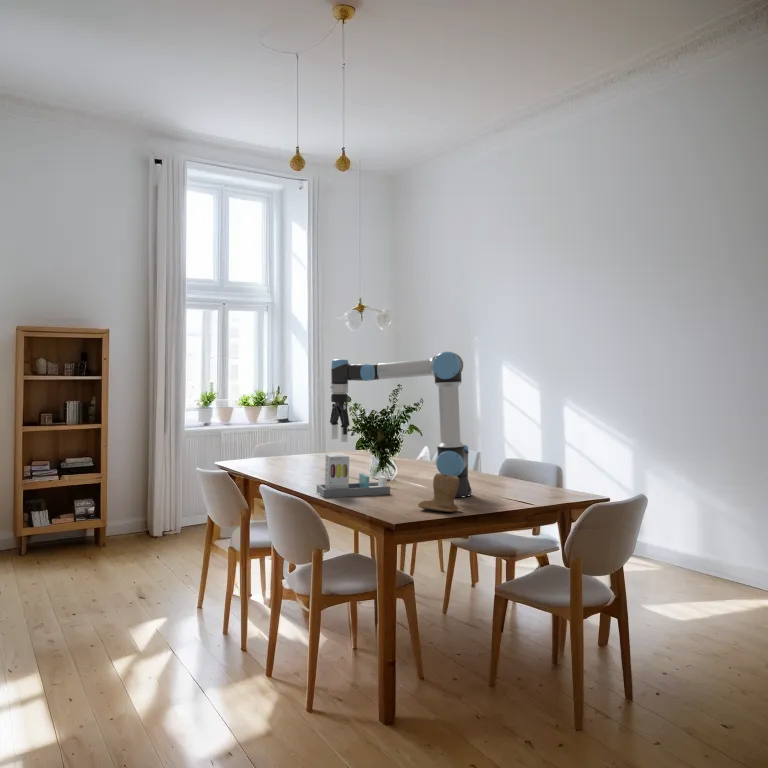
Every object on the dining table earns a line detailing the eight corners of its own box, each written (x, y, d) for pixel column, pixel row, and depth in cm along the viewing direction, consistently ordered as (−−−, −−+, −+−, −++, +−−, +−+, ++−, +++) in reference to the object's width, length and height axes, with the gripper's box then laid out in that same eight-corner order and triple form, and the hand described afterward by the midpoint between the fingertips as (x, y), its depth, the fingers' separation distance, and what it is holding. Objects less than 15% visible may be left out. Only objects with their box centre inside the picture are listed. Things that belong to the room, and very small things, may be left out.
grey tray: (390, 494, 309) (390, 486, 309) (323, 497, 299) (323, 489, 299) (380, 489, 322) (380, 482, 322) (316, 492, 312) (316, 484, 312)
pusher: (388, 491, 311) (388, 475, 310) (365, 492, 307) (366, 476, 307) (380, 487, 321) (380, 472, 320) (359, 488, 317) (359, 473, 317)
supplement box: (328, 494, 302) (328, 456, 302) (324, 490, 311) (324, 454, 311) (349, 493, 305) (349, 456, 304) (344, 490, 314) (345, 453, 313)
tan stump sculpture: (464, 510, 276) (465, 473, 275) (450, 515, 266) (451, 477, 265) (431, 506, 284) (432, 470, 284) (417, 510, 274) (417, 473, 274)
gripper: (323, 392, 318) (323, 438, 318) (340, 394, 295) (340, 443, 295) (338, 392, 321) (338, 437, 321) (356, 394, 298) (356, 442, 298)
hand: (339, 440), depth 308 cm, fingers open, 13 cm apart
